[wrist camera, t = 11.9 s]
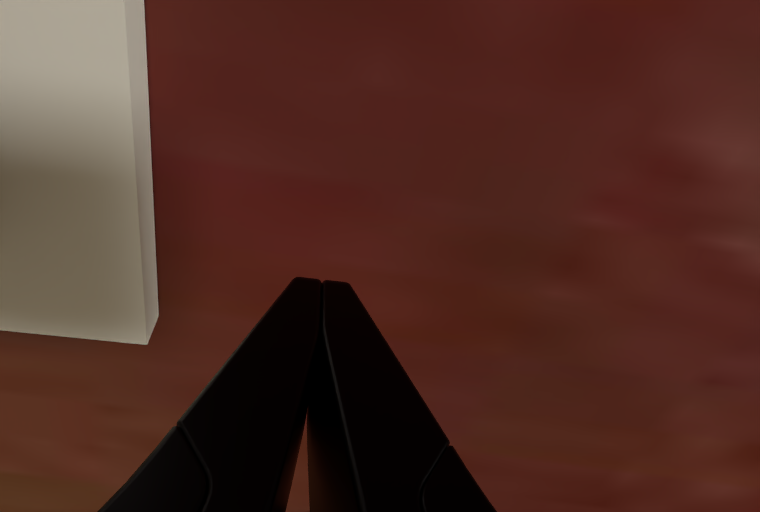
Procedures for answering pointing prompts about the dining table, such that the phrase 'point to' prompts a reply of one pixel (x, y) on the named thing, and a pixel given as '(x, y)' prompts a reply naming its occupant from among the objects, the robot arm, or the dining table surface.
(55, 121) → the wall board
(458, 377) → the dining table surface
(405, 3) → the dining table surface
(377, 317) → the dining table surface
